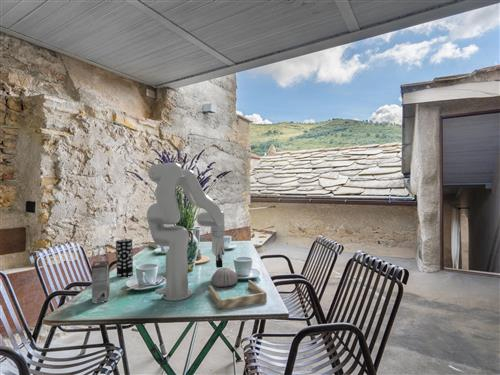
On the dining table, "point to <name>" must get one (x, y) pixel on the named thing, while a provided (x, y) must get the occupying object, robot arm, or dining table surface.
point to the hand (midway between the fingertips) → (219, 267)
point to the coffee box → (100, 281)
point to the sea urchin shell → (224, 277)
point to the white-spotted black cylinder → (124, 257)
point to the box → (241, 300)
